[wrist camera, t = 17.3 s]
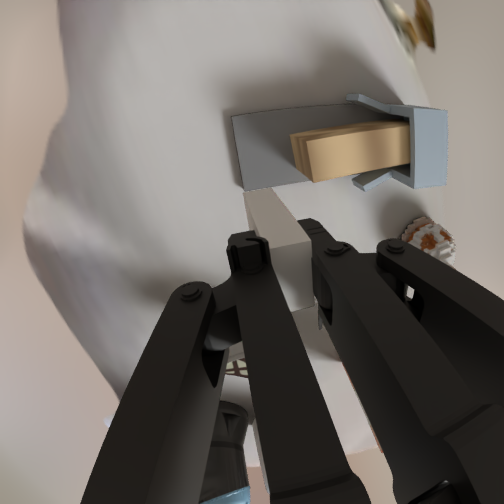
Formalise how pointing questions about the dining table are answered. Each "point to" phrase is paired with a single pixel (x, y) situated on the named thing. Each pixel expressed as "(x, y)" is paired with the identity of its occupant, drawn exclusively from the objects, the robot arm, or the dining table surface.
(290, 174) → the board
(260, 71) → the dining table surface
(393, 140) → the oak slat
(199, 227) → the dining table surface
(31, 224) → the dining table surface
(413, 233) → the decorative ornament
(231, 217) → the dining table surface
